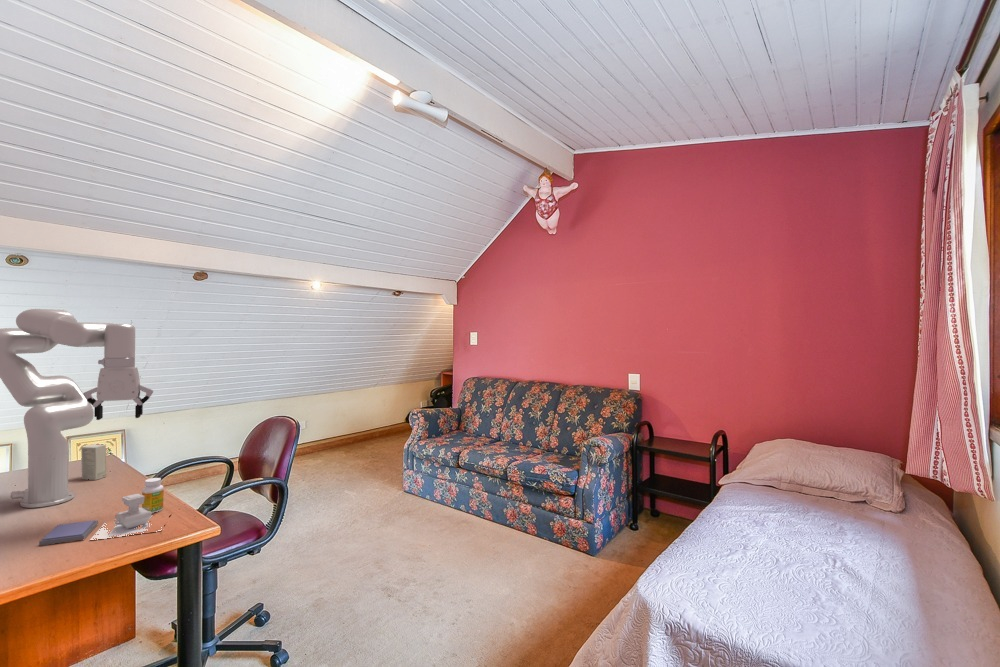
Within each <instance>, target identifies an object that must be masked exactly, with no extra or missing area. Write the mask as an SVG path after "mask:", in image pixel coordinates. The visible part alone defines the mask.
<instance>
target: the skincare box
mask: <svg viewBox="0 0 1000 667" xmlns="http://www.w3.org/2000/svg"><path fill="white" fill-rule="evenodd" d="M80 450H81V454H80V455H81V480H88V479H89V480H91V481H96V480H100V479H103V478H106V477H107V445H106V444H93V443H92V444H88V445H83V446H81V447H80ZM89 480H88V481H89Z"/></svg>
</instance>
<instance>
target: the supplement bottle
mask: <svg viewBox="0 0 1000 667" xmlns="http://www.w3.org/2000/svg"><path fill="white" fill-rule="evenodd" d="M161 483H162V478H161V477H152V478H147V479H145V481H144V487H143V488H142V490H141V495H143V496H145V499H144V503H143V504H141V507H142V508H143V509H145V510H147V511H151V512H152V514H155V513H154V512H157V513H159V512H161V511H163V510H164V497H165V496H164V491H165V490H164V489H165V488H164V487H165V486H164V485H162V484H161ZM162 509H163V510H162ZM158 511H159V512H158Z"/></svg>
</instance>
